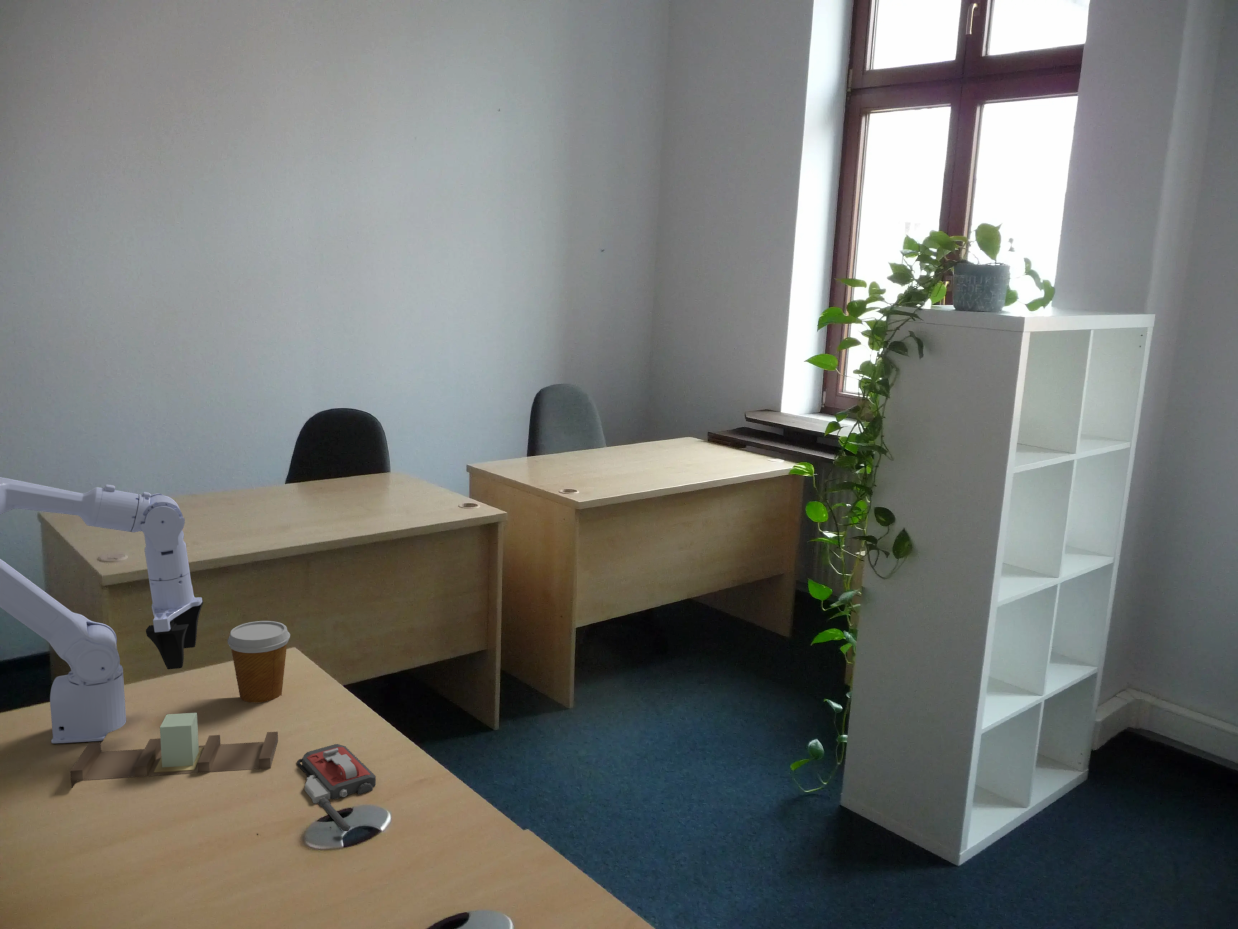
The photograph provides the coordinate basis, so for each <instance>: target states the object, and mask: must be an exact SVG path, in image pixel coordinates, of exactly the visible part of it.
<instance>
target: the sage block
mask: <svg viewBox="0 0 1238 929" xmlns="http://www.w3.org/2000/svg"><path fill="white" fill-rule="evenodd" d="M159 734H160V735H159V736H160V737H159V738H161V755H162V767H177V766H191V765H193V764H194V762H195V760H196V757H197V755H198V752H199V746H200V745H199V728H198V713H197V712H187V713H186V712H183V713H169V714H166V715H165V717H164V719H163V721H162V723H161V724H160V727H159Z"/></svg>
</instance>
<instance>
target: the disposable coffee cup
mask: <svg viewBox="0 0 1238 929" xmlns="http://www.w3.org/2000/svg"><path fill="white" fill-rule="evenodd" d="M290 639H291V633H290V632H289V630H288V627H287V625H285V624H284V623H282V622H280V621H279V622H278V621H273V620H259V621H258V620H256V621H249V622H245V623H241V624H239V625H237V626H235V627H234V628H232V629H231V630H230V633H229V637H228V638H227V645H229V648H230V649H231V655H232V662H233V666H234V671H235V677H236V682H237V688H238V693H239V694H238V695H239V698H240V700H242V701H244V702H247V703H255V704H256V703H265V702H270V701H272V700H275V699H277V698H279V697H280V696H282V694H283V685H284V676H285V666H286V656H287V649H288V648H287V645H288V643H289V640H290Z"/></svg>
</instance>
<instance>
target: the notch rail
mask: <svg viewBox="0 0 1238 929" xmlns="http://www.w3.org/2000/svg"><path fill="white" fill-rule="evenodd" d="M101 742H102V741H90V742H88V744H87V745H86V746H85V748H84V749H83V751H82V752H81V753H80V755H79V757H78V758H77V760H76V761H75V763H74V765H73V766H72V767H71V769H70V770H69V772H70V775H69V776H70V785H71V786H70V787H71V789H72V788H74V787H75V784H76V783H77V782H79V781H80V782H82V781H83V782H84V781H85V782H86V781H99V780H100V781H101V780H110V779H111V780H113V779H127V778H128V779H129V778H141V777H142V778H144V777H159V776H161V777H162V776H174V775H176V776H177V775H188V774H189V775H191V774H203V773H205V774H206V773H218V772H219V773H220V772H222V773H223V772H233V771H237V772H238V771H248V770H249V771H252V770H264V769H265V770H267V769H271V768H272V765H273V761H274V757H275V754H276V750H277V747H278V743H279V731H266V734H265V738H264V740H263V741H258V742H257V741H256V742H255V741H254V742H238V743H224V744H222V743H221V735H220V734H215V735H208V737H207V740H206V742H205V744H204V745H199V752H198V755H197V757H196V760H195V762H194V764H193V765H191V766H177V767H162V755H161V738H160V737H159V738H149V739H148V742H147V743H146V745H145V747H144V748H143V749H142V748H139V749H126V750H125V749H124V750H121V749H120V750H107V751H106V750H105V751H102V748H101V747H102V745H101Z"/></svg>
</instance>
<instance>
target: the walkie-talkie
mask: <svg viewBox="0 0 1238 929" xmlns="http://www.w3.org/2000/svg"><path fill="white" fill-rule="evenodd" d="M296 764H297V766H298V767H299V768H300V769H301V770H302V772H303V773H304V774H305V775H306V782H305V783H304V791H305V792H306V794H307V796H308V797H309V798H311V801H312V803H313V804H314V805H316V804H318V805H319V806H320V807H321V808H323V809H324V810H325V812H326V813H327V814H328V815H329V817H331V819H332V820H333V821H334V822H335V823H336V825H338V828H339V829H340V830H341V831H344V832H349V830H350V825H349V824H348V823H347V822H346V820H345V819H344V818H343V817H342V816H341V815H340V813H339V812H338V811H337V810H336V809H335V808H334V806H333V805H332V804H331V801H329V800H339V798H345V797H347V796H349V795H352V794H356V793H357V794H358V795H362V794H365V793H368V792H373V790H374V788H375V787H376V784H377V783H376V782H377V778H376V777H377V776H376V775H375V774H374V773H373V772H372V771H371V770H370V769H369V768H368V767H367V766H366V765H365V764H364V763H363V762H362V761H360V759H359V758H358V757H357V756H356V755H355V754H354V753H353V752H352V751H351V750H350V749H348V747H347V746H345V745H342V744H340V743H335V744H334V743H333V744H331V745H328V746H324V747H321V748H316V749H313V750H309V751H306V753H304V755H303V756H302V758H300V759H298V760H297V761H296Z"/></svg>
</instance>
